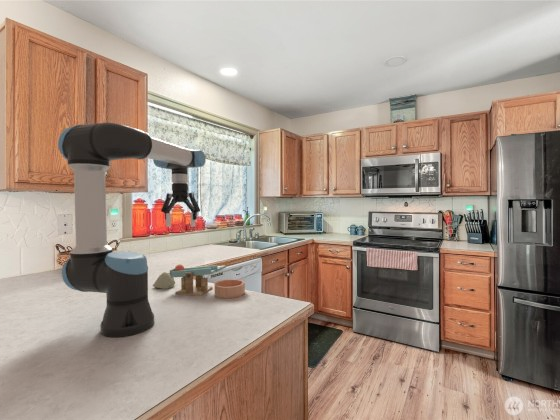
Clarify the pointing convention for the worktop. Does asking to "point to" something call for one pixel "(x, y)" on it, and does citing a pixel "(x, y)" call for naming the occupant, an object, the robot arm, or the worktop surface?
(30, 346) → the worktop surface
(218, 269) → the lever
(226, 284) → the bowl
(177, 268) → the ball
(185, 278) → the stand
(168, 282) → the seashell
